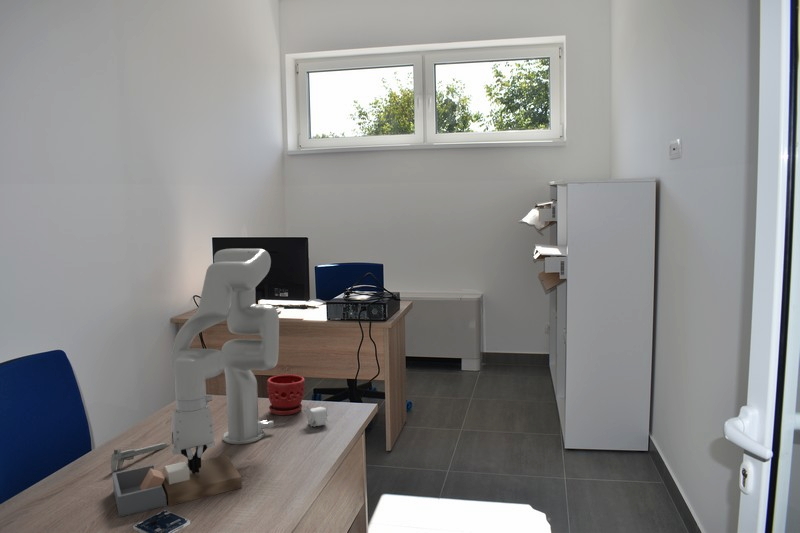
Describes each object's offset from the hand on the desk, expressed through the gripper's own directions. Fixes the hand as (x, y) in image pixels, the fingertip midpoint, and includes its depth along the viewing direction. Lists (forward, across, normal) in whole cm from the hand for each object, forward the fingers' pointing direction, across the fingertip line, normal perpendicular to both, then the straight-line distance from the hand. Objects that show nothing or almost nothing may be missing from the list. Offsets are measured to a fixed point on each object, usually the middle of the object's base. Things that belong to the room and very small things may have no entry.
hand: (194, 471), depth 156 cm
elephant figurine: (+4, -44, -23) cm, 50 cm away
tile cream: (+1, +4, 0) cm, 4 cm away
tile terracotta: (+1, +9, 0) cm, 9 cm away
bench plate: (+4, -1, 0) cm, 4 cm away
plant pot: (+4, -40, -42) cm, 58 cm away
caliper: (+4, +10, -26) cm, 28 cm away
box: (+4, +14, 0) cm, 14 cm away
